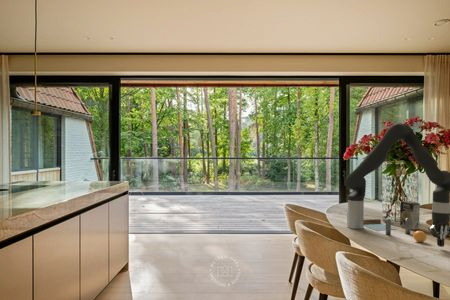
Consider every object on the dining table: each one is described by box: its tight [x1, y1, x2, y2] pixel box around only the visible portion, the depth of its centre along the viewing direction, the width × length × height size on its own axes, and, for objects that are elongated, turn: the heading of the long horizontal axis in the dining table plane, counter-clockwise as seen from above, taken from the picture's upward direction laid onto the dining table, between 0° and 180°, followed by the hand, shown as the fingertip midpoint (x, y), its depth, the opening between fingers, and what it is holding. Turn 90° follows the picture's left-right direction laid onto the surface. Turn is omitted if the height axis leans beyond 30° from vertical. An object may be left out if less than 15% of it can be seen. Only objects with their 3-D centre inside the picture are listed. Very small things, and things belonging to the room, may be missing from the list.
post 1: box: [385, 218, 392, 236], centre depth 188 cm, size 3×3×9 cm
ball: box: [412, 230, 427, 243], centre depth 173 cm, size 6×6×6 cm
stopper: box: [363, 218, 382, 225], centre depth 216 cm, size 2×18×2 cm, turn 102°
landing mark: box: [363, 223, 397, 232], centre depth 206 cm, size 14×14×1 cm
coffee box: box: [399, 200, 421, 230], centre depth 206 cm, size 9×6×16 cm
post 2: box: [404, 218, 412, 235], centre depth 190 cm, size 3×3×9 cm
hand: (440, 246), depth 161 cm, fingers closed
